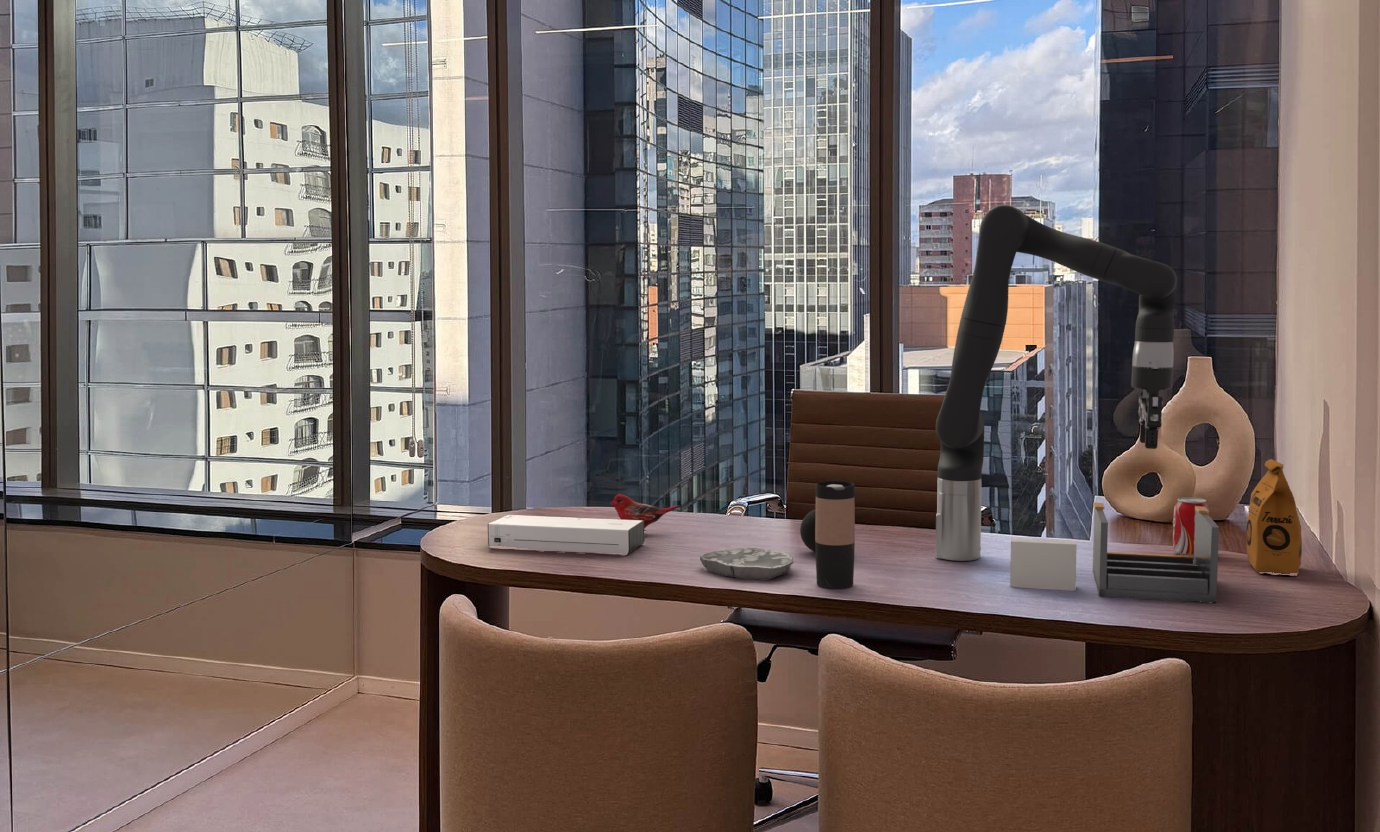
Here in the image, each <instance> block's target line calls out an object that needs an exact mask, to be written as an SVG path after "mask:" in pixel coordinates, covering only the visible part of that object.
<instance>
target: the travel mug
mask: <svg viewBox="0 0 1380 832" xmlns="http://www.w3.org/2000/svg"><path fill="white" fill-rule="evenodd" d="M855 506H856V505H855V484H854V483H853V482H850V481H843V480H842V481H841V480H826V481H825V480H824V481H819V482H816V483H815V509H816V522H815V541H816V542H815V547H816V552H815V572H816V575H815V577H816V585H817V586H818V587H820V588H824V589H829V590H842V589H843V590H844V589H849V588H851V587H853V586H854V577H855V576H854V573H855V549H856V548H855V547H856V545H855V544H856V533H855V532H856V531H855V530H856V528H855V527H856V526H855V525H856V522H855V518H856V517H855V516H856V515H855V514H856V512H855V510H856V509H855Z"/></svg>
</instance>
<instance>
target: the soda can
mask: <svg viewBox="0 0 1380 832" xmlns="http://www.w3.org/2000/svg"><path fill="white" fill-rule="evenodd" d="M1207 501H1208V500H1206V499H1205V498H1201V497H1191V496H1190V497H1189V496H1186V497H1185V496H1184V497H1178V498H1177V502H1176V503H1175V505H1174V506H1173V519H1172V520H1173V521H1172V522H1173V523H1172V549H1173V551H1174V552H1176V553H1177V555H1179V554H1180V555H1186V556H1193V558H1194V536H1195V506H1201V507H1206V508H1207V509H1208V510H1209V511H1210V507H1209V505H1208V504H1207ZM1207 514H1208V515H1209V516H1210V512H1209V513H1207Z"/></svg>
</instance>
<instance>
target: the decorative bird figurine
mask: <svg viewBox="0 0 1380 832" xmlns="http://www.w3.org/2000/svg"><path fill="white" fill-rule="evenodd" d="M609 505H613V506H614V509H615V511H616V512H617V516H618V517H619V520H642V521H644V531H647V530H646V528H647V527H648V526H649V525H651V524H654V523H656V522H658V521H659V520H660V519H661V518H663V516H664V515H665V514H667V513H670V512H671V511H673V510H676V509H679V508H680V507H681V505H675V506H671V507H666V508H659V507H656V506H653V505H650V504H646V503H640V502H636V501H634V500H633V499H631V498H630V497H629V496H627V495H625V494H622V493H618V494H616V495H615V496H614V498H613V500H612V501H611V502H610V503H609Z"/></svg>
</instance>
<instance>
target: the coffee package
mask: <svg viewBox="0 0 1380 832" xmlns="http://www.w3.org/2000/svg"><path fill="white" fill-rule="evenodd" d="M1264 466H1265V468H1266V469H1268V470H1267V472H1266V473H1265V475H1263V477H1262V478H1261V479H1260V480H1259V482H1258V483H1257V485H1256V486H1255V487H1254V489H1253V490H1252V492H1251V494H1250V501H1249V507H1248V512H1247V521H1246V529H1245V539H1246V540H1245V541H1246V542H1245V543H1246V545H1245V546H1246V555H1247V560H1248V561H1249V563H1250V565H1251V566H1252V567H1253V569H1254V570H1255V571H1256V572H1257V573H1258V572H1272V573H1273V572H1274V573H1281V574H1290V573H1297V572H1298V571H1299V572H1300V567H1301V565H1302V553H1303V552H1302V551H1303V549H1302V547H1303V546H1302V543H1303V542H1302V525H1301V522H1300V517H1299V514H1298V510H1297V503H1296V500H1295V497H1294V495H1293V492H1292V489H1291V488H1290V485H1289V483H1288V481H1287V479H1286V477H1285V474H1284V471H1283V470H1284V464H1282V463H1281V462H1279V461H1277V460H1275V459H1271V458H1270V459H1268V460H1267V461H1265V463H1264ZM1299 572H1298V573H1299Z"/></svg>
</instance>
